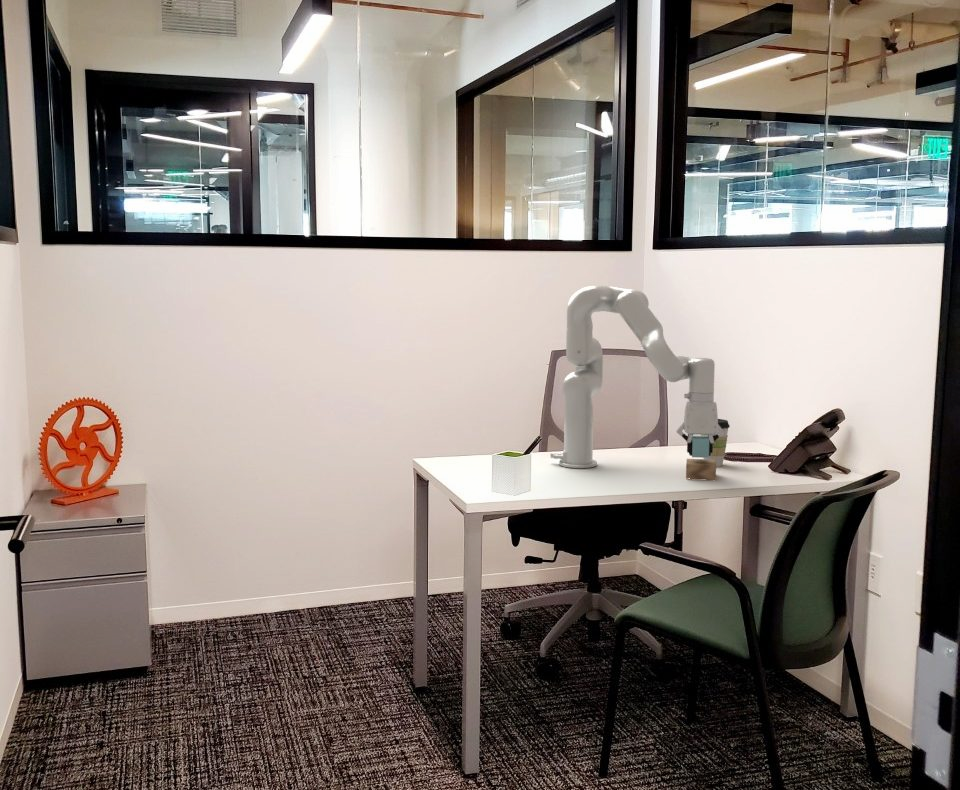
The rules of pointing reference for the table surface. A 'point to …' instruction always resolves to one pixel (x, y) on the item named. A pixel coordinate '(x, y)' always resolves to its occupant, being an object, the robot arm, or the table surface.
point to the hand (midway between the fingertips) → (699, 454)
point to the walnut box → (701, 469)
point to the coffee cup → (719, 444)
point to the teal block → (700, 446)
